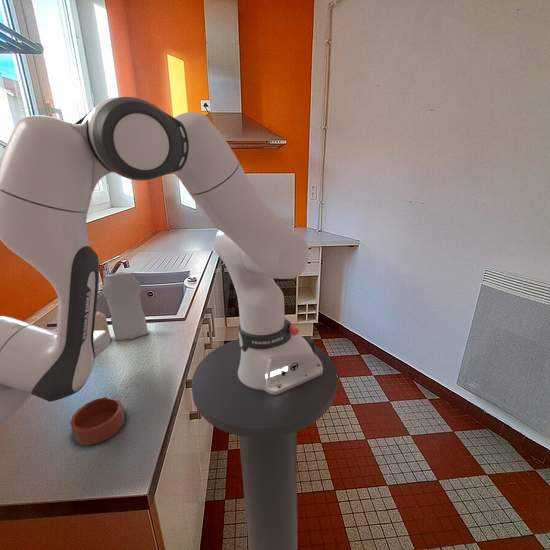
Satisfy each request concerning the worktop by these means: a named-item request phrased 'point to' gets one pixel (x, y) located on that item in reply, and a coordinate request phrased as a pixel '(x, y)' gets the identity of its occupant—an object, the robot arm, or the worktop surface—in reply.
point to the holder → (97, 420)
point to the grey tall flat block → (125, 305)
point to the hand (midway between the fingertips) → (79, 327)
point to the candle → (101, 323)
